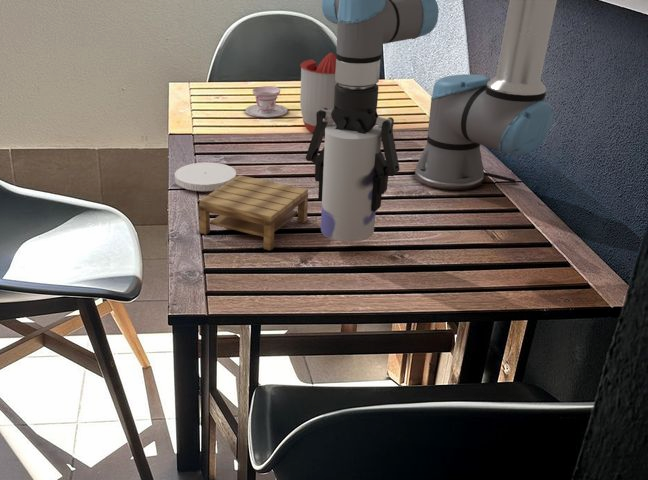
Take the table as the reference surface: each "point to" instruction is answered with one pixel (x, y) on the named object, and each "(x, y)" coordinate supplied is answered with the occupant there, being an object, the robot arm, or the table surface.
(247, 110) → the teacup
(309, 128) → the citrus juicer
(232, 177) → the plastic lid
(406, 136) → the table surface
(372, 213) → the container
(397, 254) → the table surface
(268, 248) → the rack
